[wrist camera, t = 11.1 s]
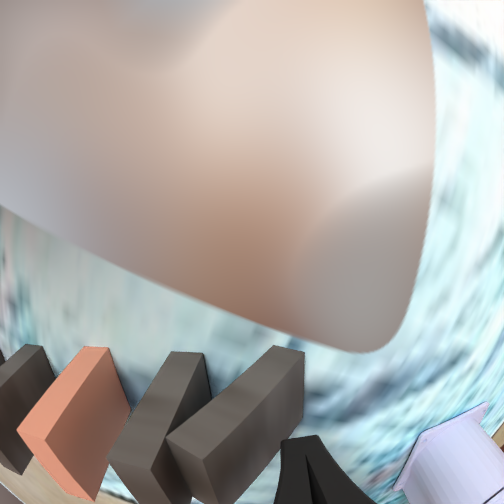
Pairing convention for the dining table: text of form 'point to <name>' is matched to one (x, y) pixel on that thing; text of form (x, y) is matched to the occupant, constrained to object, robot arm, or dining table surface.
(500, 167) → the dining table surface
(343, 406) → the dining table surface
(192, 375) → the tile
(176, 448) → the tile
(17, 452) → the tile
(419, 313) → the dining table surface
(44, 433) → the tile
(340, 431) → the dining table surface
